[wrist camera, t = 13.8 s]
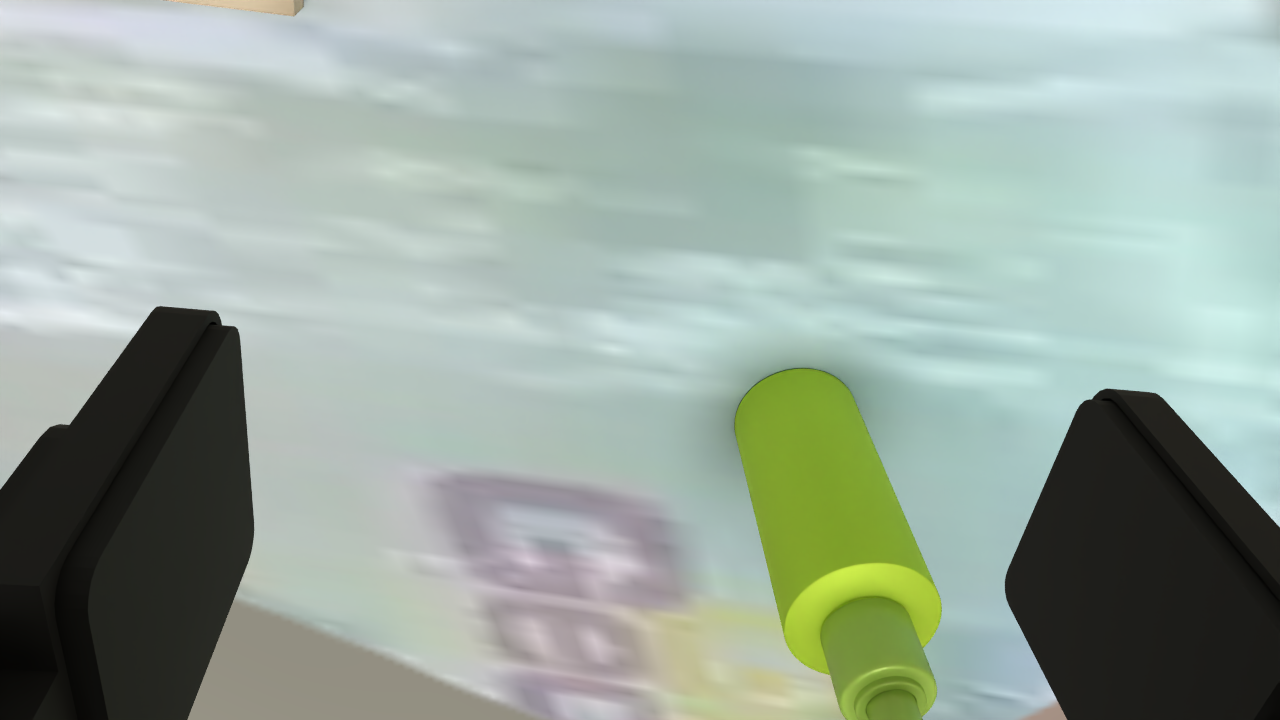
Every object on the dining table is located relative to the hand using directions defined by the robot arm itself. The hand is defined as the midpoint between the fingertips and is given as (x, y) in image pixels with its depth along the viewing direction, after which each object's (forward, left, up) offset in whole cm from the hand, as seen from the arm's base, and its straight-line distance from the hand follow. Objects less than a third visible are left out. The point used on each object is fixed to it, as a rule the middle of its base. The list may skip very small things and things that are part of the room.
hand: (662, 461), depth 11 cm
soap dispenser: (+20, +12, -31) cm, 38 cm away
